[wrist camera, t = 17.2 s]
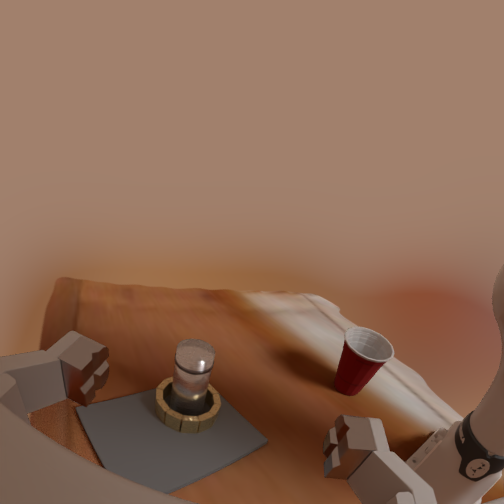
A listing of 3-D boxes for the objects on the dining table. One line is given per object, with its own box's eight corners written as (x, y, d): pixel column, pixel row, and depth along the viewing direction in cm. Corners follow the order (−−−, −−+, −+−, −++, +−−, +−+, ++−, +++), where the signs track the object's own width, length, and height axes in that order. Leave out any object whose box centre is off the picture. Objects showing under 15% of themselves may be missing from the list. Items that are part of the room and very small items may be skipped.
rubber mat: (200, 378, 50) (201, 374, 50) (266, 443, 39) (268, 440, 39) (76, 411, 34) (75, 407, 34) (129, 508, 23) (128, 505, 23)
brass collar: (194, 382, 48) (196, 369, 47) (229, 419, 41) (233, 407, 41) (144, 397, 41) (144, 384, 40) (177, 441, 35) (178, 429, 34)
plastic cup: (328, 403, 51) (354, 354, 48) (318, 369, 61) (339, 322, 58) (375, 406, 52) (403, 360, 48) (361, 374, 62) (384, 330, 59)
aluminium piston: (190, 394, 45) (201, 335, 41) (209, 415, 41) (223, 356, 38) (162, 403, 41) (168, 342, 38) (180, 426, 38) (190, 366, 34)
